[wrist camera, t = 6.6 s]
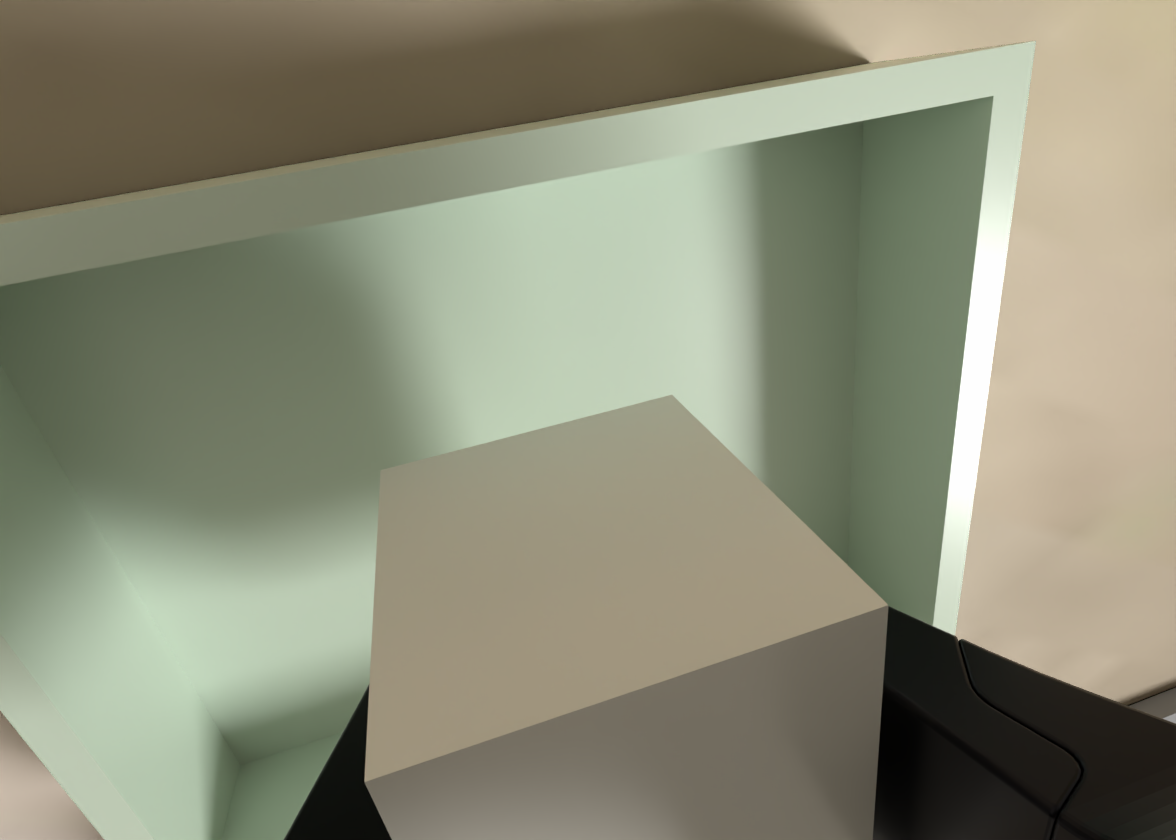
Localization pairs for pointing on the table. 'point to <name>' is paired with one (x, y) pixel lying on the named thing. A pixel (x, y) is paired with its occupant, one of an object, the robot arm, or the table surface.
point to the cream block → (616, 646)
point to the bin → (466, 389)
